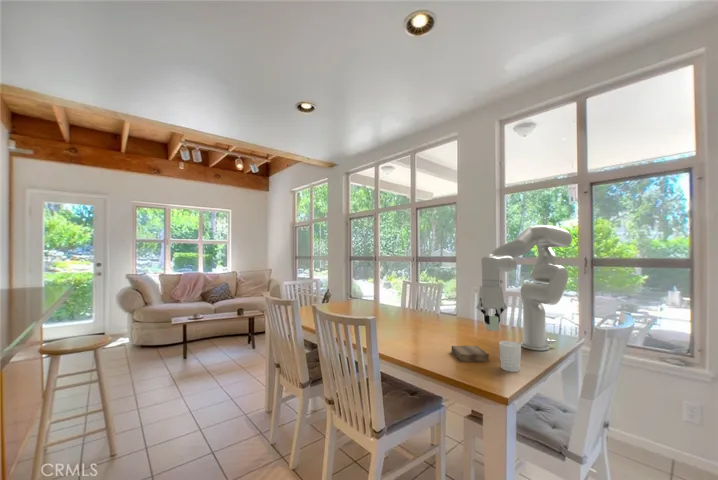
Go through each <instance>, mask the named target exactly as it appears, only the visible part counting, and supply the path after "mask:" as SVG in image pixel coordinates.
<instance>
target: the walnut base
mask: <svg viewBox="0 0 718 480" xmlns="http://www.w3.org/2000/svg"><path fill="white" fill-rule="evenodd" d="M451 353H452V354H453V356H455V358H457V359H458V360H459V361H460V362H461V363H469V362H470V363H471V362H472V363H473V362H474V363H475V362H476V363H478V362H479V363H481V362H482V363H483V362H484V363H485V362H490V355H489V353H487V352H486V351H485V350H483V349H482V348H481V347H480V346H478V345H451Z"/></svg>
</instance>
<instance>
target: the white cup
mask: <svg viewBox="0 0 718 480" xmlns="http://www.w3.org/2000/svg"><path fill="white" fill-rule="evenodd" d="M498 345H499V359H500V367H501V369H502V370H503V371H506V372H510V373H517V372H519V371H520V369H521V358H522V346H521V345H520V343H518V342H516V341H511V340H500V341H499V344H498Z"/></svg>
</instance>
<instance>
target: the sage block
mask: <svg viewBox="0 0 718 480" xmlns="http://www.w3.org/2000/svg"><path fill="white" fill-rule="evenodd" d="M488 315H489V324H486V323H485V328H486V329H487V330H488V331H490V332H492V331H494V332H495V331H499V330H500V328H499V325H500V324H499V318H498V317H497V316H495V314H488Z"/></svg>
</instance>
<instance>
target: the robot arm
mask: <svg viewBox="0 0 718 480" xmlns="http://www.w3.org/2000/svg"><path fill="white" fill-rule="evenodd" d="M572 241H573V237H572V234H571V233H570V232H569V231H568V230H566V229H564V228H560V227H557V226H554V225H550V224H545V225H533V226H529V227H527V228H525V229H524V230H522V232H521V233H520V234H519V235H518V236H516V237H515V239H514V240H512V241H509V242H507V243H505V244H503V245H500V246H498V247H496V248H495V249H493V250H491V252H490V253H489V254H488V255H487V256H483V257H482V258H481V283H482V284H481V285H480V287H479V293H478V303H477V305H476V309H477V311H479V312H481V313H482V314H483V320H484V324H485V325H486V324H489V315H490V314H489V311H490V310H491V309H492V310H493V309H494V315H495V316H497V317H498V318H499V325H500V322H501V315H502V313H504V311H505V310H506V309H508V306H507V305H506V303H505V300H504V299H505V298H504V297H505V296H504V292H503V289H502V286H501V284H503V280H501V278H500V277H501V276H500V272H505V273H506V272H507V273H509V272H512V271H514V270H515V269H516V268H517V260H516V259H515V258H516V257H517V258H518V257H521V256H523V255H527V254H528V253H529V252H530V251H531V250H532V249H533V248H534V247H535V246H536V249H537V251H538V254H537V255H538V256H537V258H536V259H537V260H536V262H535V264H534V266H533V268H532V271H531V274H530V276H531V277H530V278H531V279H532V282H531V281H530V282H526V283H523V284H522V285H521V288H520V296H521V301H522V311H523V312H522V314H523V316H522V318H523V319H522V321H523V323H522V324H523V325H522V326H523V330H522V331H523V340H522V341H520V343H519V344H520V345H521V348H525V349H528V350H532V351H549V350H550V349H551V348H550V345H551V344H552V345H554V344H556V343H557V341H556V339H549V338H546V310H545V308H544V306H543V304H545V305H550V306H554V305H557V304H558V303H559V302H560V301H561V299H562V297H563V293H564V292H565V289H566V286H567V284H568V280H569V271H568V270H567V268H566V267H565V266H562V265H559V264H557V262H558V257H557V256H558V255H557V254H556V253H555V251H554V250H553V248H567V247H569V246H570V245H571V244H572V243H573V242H572ZM533 281H534V282H533Z"/></svg>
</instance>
